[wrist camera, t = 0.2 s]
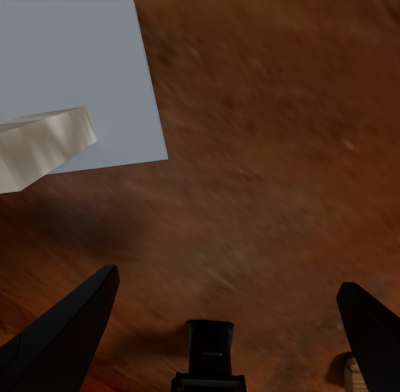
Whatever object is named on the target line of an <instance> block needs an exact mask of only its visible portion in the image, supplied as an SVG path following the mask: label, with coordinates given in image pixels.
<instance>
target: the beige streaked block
mask: <svg viewBox="0 0 400 392" xmlns="http://www.w3.org/2000/svg"><path fill="white" fill-rule="evenodd" d="M96 141H97V138H96V135H95V132H94V129H93V126H92V124H91V121H90V118H89V115H88V112H87V110H86V107H85V106H83V107H77V108H70V109H64V110H58V111H51V112H45V113H38V114H32V115H26V116H20V117H16V118H13V119H9V120H5V121H1V122H0V193H9V192H17V191H21V190H23V189H24V188H26V187H27V186H29V185H30V184H32V183H33V182H35V181H36V180H38V179H39V178H41V177H42V176H44V175H46V174H47V173H49V172H50V171H52V170H53V169H55V168H56V167H58V166H59V165H61V164H62V163H64V162H65V161H67V160H69V159H70V158H72V157H73V156H75V155H76V154H78V153H79V152H81V151H82V150H84V149H85V148H87V147H88V146H90V145H91V144H93V143H95V142H96Z"/></svg>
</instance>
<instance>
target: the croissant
mask: <svg viewBox="0 0 400 392" xmlns="http://www.w3.org/2000/svg"><path fill="white" fill-rule="evenodd" d="M344 389H345V392H368V389H367V387H366V384H365V382H364V379H363V377H362V374H361V372H360V369H359V367H358V364H357V362H356V359H355V357H354V354H349V355H347V356H346V359H345V364H344Z"/></svg>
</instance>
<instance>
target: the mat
mask: <svg viewBox="0 0 400 392" xmlns="http://www.w3.org/2000/svg"><path fill="white" fill-rule="evenodd" d="M83 106H85V107H86V110H87V112H88V115H89V118H90V121H91V124H92V126H93V129H94V132H95V135H96V138H97V141H96V142H95V143H93V144H91V145H90V146H88V147H87V148H85V149H84V150H82V151H81V152H79V153H78V154H76V155H75V156H73V157H72V158H70V159H69V160H67V161H65V162H64V163H62V164H61V165H59V166H58V167H56V168H55V169H53V170H52V171H50V172H49V173H47V174H54V173H62V172H70V171H78V170H86V169H94V168H102V167H110V166H118V165H125V164H133V163H141V162H149V161H157V160H165V159H168V155H167V150H166V146H165V141H164V136H163V132H162V127H161V123H160V118H159V114H158V109H157V105H156V100H155V95H154V91H153V86H152V82H151V77H150V73H149V68H148V63H147V59H146V54H145V50H144V45H143V41H142V36H141V32H140V27H139V22H138V18H137V13H136V9H135V4H134V0H0V122H1V121H5V120H9V119H13V118H16V117H20V116H26V115H32V114H38V113H45V112H51V111H58V110H64V109H70V108H77V107H83Z"/></svg>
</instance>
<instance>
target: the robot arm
mask: <svg viewBox="0 0 400 392" xmlns="http://www.w3.org/2000/svg"><path fill="white" fill-rule="evenodd" d="M119 282H120V278H119V273H118V268H117V266H116V265H110V264H107V265H105V266H103V267H102V268H101V269H100V270H98V271H97V272H96V273H95V274H93V275H92V276H91V277H89V278H88V279H87V280H86V281H84V282H83V283H82V284H81V285H79V286H78V287H77V288H76V289H74V290H73V291H72V292H70V293H69V294H68V295H67V296H65V297H64V298H63V299H62V300H60V301H59V302H58V303H57V304H55V305H54V306H53V307H51V308H50V309H49V310H48V311H46V312H45V313H44V314H43V315H41V316H40V317H39V318H37V319H36V320H35V321H34V322H32V323H31V324H30V325H29V326H27V327H26V328H25V329H24V330H22V332H21V333H18V334H17V335H16V336H15V337H13V338H12V339H11V340H9V341H8V342H7V343H6V344H4V345H3V346H2V347H0V392H79V390H80V388H81V385H82V383H83V381H84V378H85V376H86V373H87V371H88V369H89V366H90V364H91V361H92V359H93V357H94V354H95V352H96V349H97V347H98V345H99V342H100V340H101V337H102V335H103V333H104V330H105V328H106V325H107V323H108V320H109V317H110V313H111V310H112V307H113V303H114V300H115V297H116V293H117V290H118V287H119ZM336 299H337V304H338V308H339V311H340V314H341V318H342V321H343V325H344V328H345V332H346V335H347V338H348V341H349V344H350V347H351V349H352V352H353V354H354V357H355V359H356V362H357V364H358V367H359V369H360V372H361V374H362V377H363V379H364V382H365V384H366V387H367V389H368V392H400V318H399V317H398V316H397V315H395V314H394V313H393V312H392V311H390V310H389V309H388V308H387V307H385V306H384V305H383V304H382V303H380V302H379V301H378V300H377V299H375V298H374V297H373V296H372V295H370V294H369V293H368V292H367V291H365V290H364V289H363V288H362V287H360V286H359V285H358V284H357V283H354V282H343V283H342V285H341V287H340V289H339V292H338V294H337V297H336ZM233 331H234V324H233V323H223V322H207V321H189V325H188V348H189V349H190V357H189V370H188V373H181V372H177V373H176V378H174V379H172V384H171V392H247V391H246V384H245V378H244V375H240V376H234V375H232V369H231V353H230V349H231V343H232V337H233Z"/></svg>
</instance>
